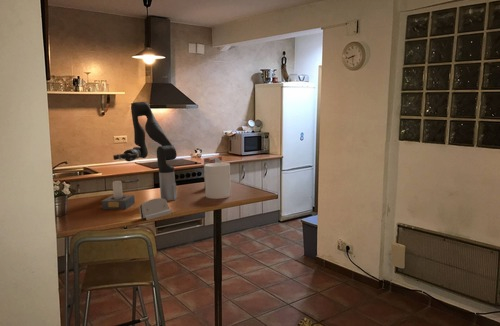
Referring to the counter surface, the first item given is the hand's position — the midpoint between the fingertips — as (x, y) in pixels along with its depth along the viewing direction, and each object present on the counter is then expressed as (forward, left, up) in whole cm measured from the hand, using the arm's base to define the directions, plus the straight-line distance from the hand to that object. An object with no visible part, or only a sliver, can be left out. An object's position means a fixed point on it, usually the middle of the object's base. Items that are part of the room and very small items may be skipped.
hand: (121, 157), depth 248 cm
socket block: (-2, +15, -27) cm, 31 cm away
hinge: (-31, +36, -27) cm, 55 cm away
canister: (-57, -9, -27) cm, 64 cm away
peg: (-2, +15, -26) cm, 30 cm away
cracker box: (-49, -40, -27) cm, 69 cm away
